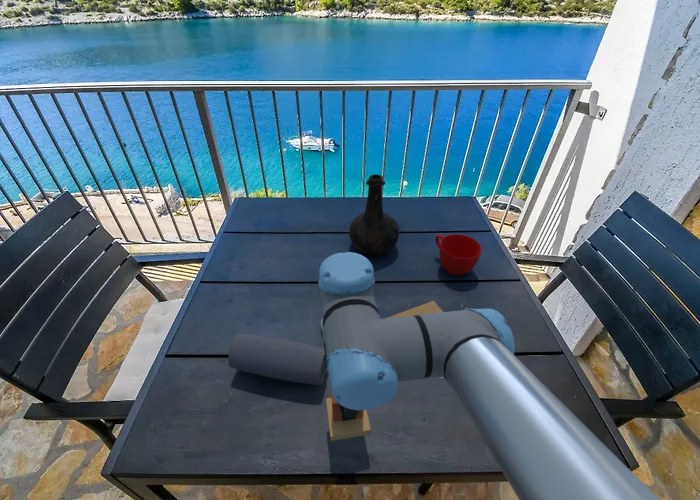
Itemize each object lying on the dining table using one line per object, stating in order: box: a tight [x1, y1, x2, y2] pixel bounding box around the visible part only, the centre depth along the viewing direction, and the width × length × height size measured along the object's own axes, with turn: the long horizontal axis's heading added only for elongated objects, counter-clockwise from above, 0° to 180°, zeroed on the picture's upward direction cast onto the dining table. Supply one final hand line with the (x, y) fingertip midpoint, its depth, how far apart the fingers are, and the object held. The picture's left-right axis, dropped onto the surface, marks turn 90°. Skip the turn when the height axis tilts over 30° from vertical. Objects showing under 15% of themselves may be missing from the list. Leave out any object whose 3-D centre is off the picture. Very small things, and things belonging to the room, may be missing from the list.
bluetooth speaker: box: [227, 333, 328, 386], centre depth 85 cm, size 23×9×10 cm, turn 78°
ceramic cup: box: [435, 233, 482, 276], centre depth 117 cm, size 13×17×10 cm
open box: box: [325, 391, 372, 442], centre depth 69 cm, size 8×8×9 cm
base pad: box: [384, 300, 444, 319], centre depth 97 cm, size 16×18×2 cm
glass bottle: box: [348, 173, 400, 256], centre depth 119 cm, size 18×18×28 cm
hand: (347, 410), depth 70 cm, fingers closed on open box, 2 cm apart
